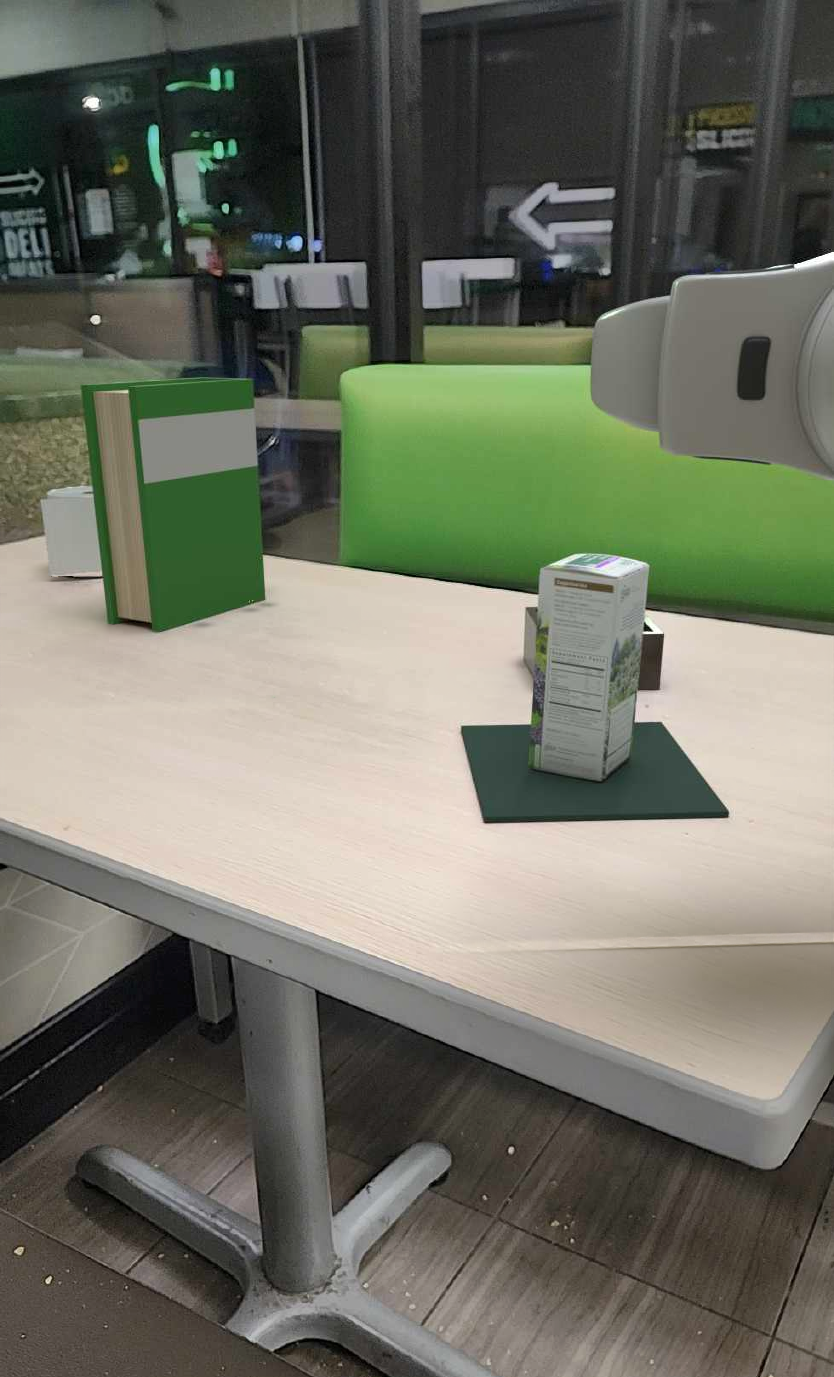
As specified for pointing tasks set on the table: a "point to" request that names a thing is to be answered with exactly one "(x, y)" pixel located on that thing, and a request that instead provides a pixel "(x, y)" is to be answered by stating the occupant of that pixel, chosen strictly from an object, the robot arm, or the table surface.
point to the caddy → (649, 652)
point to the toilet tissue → (71, 531)
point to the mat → (586, 780)
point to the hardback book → (175, 497)
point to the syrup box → (587, 664)
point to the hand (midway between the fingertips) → (772, 356)
